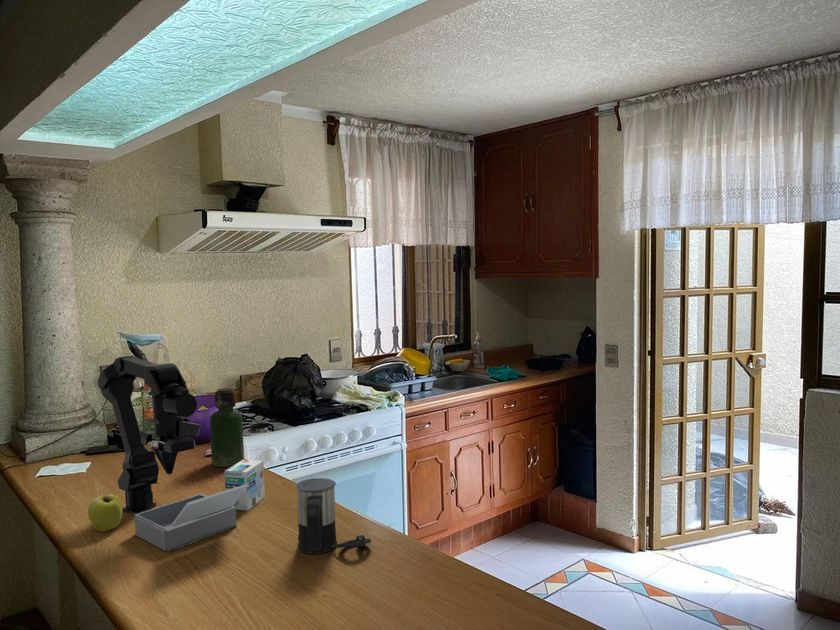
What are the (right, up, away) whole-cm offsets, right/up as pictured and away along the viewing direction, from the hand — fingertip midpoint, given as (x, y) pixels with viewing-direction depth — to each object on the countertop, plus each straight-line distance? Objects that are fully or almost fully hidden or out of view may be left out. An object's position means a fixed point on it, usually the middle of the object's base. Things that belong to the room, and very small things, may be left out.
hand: (169, 473), depth 161 cm
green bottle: (0, -9, +51) cm, 51 cm away
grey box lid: (+12, -8, -10) cm, 17 cm away
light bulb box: (+16, -12, +14) cm, 24 cm away
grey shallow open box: (+6, -13, -4) cm, 15 cm away
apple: (-15, -14, -3) cm, 20 cm away
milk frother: (+44, -13, -15) cm, 49 cm away
